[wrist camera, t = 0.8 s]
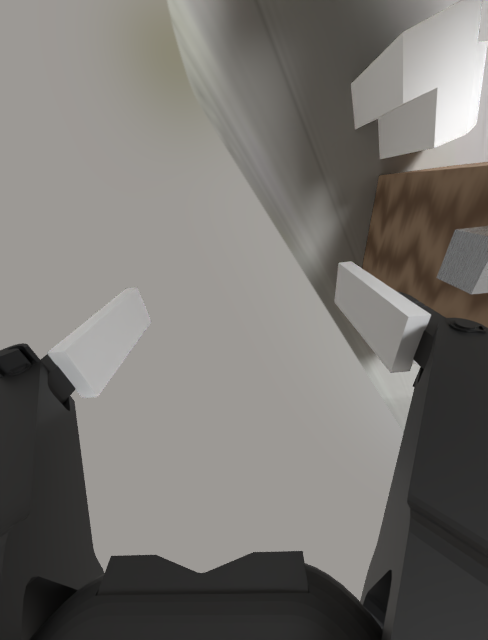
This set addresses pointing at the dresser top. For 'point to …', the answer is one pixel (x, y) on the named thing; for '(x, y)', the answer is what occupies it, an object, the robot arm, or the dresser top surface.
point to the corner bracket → (425, 82)
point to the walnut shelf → (427, 233)
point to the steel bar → (467, 260)
